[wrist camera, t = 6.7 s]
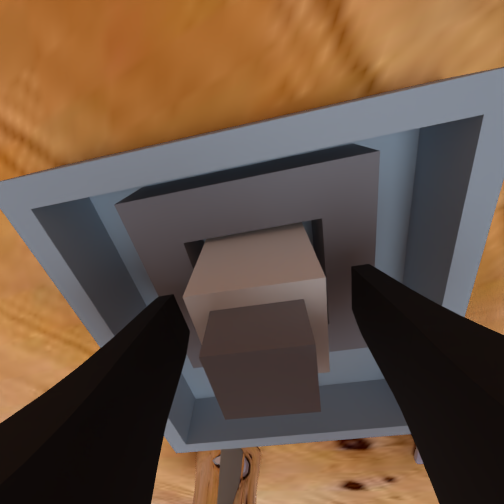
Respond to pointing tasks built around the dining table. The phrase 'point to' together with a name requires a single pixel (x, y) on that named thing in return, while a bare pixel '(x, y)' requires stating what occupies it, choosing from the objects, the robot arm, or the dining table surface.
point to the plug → (261, 321)
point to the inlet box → (277, 214)
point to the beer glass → (227, 476)
